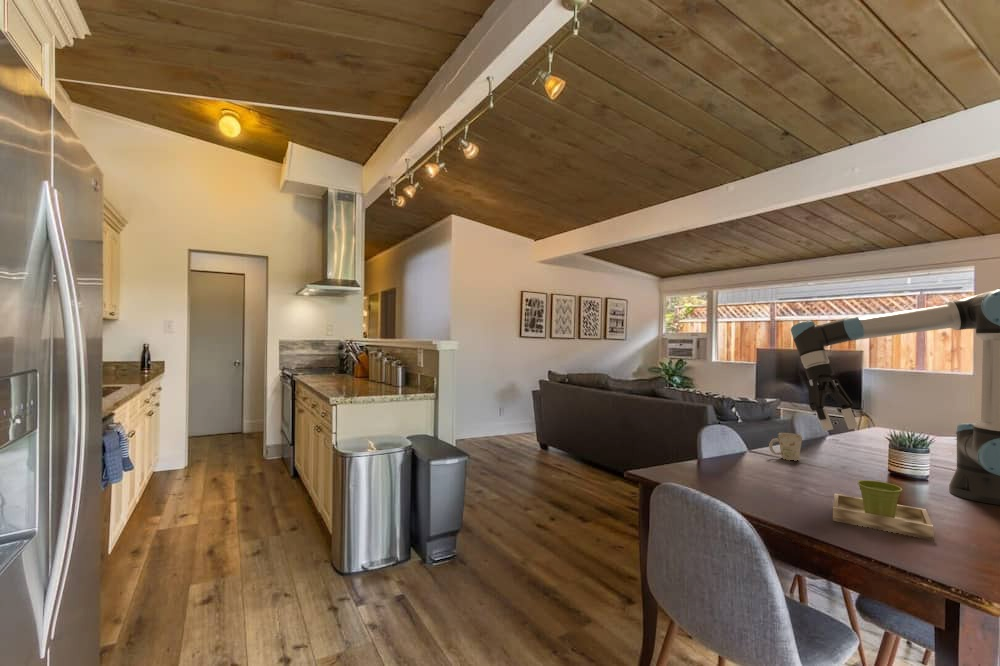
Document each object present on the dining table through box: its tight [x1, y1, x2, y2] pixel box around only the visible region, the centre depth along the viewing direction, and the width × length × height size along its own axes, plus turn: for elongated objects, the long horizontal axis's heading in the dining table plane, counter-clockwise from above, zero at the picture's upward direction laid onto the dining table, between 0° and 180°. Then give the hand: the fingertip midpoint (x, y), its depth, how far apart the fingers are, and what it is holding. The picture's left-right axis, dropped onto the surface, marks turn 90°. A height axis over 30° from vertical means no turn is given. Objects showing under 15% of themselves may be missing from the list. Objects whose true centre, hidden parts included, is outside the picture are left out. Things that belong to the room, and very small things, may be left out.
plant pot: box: [857, 479, 903, 518], centre depth 126 cm, size 9×9×9 cm
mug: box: [768, 432, 803, 462], centre depth 192 cm, size 8×13×10 cm, turn 89°
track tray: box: [832, 493, 935, 542], centre depth 125 cm, size 20×15×4 cm
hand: (841, 429), depth 149 cm, fingers open, 13 cm apart
